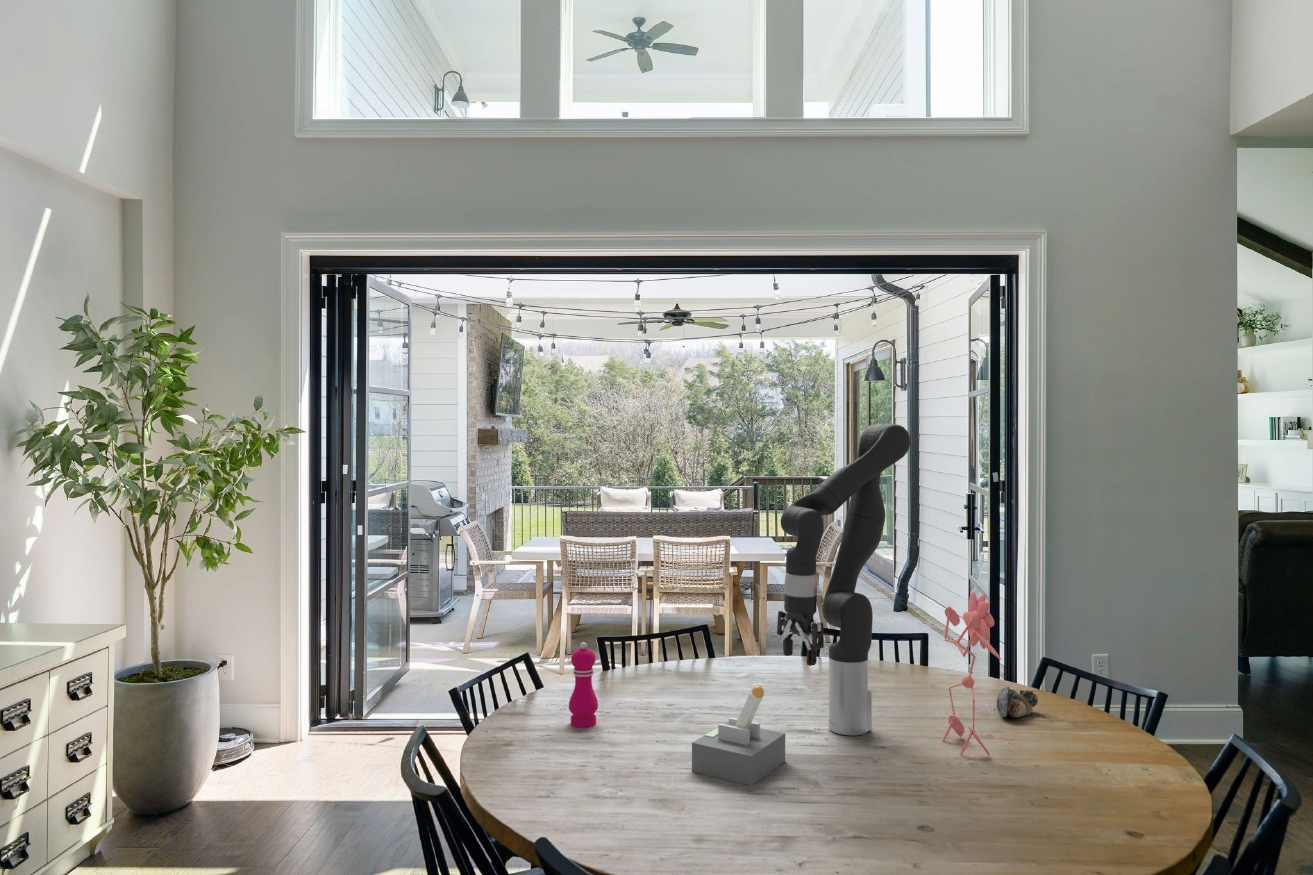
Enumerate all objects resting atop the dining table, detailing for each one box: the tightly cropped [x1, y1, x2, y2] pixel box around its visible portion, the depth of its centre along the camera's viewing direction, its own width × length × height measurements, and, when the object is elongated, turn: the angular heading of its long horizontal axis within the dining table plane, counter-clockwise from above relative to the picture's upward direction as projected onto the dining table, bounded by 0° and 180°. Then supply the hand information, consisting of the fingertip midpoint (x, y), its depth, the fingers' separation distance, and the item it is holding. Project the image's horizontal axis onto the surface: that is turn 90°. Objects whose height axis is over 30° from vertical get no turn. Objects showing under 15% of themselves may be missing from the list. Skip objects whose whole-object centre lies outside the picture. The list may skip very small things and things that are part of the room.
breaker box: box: [691, 717, 786, 787], centre depth 182 cm, size 16×14×9 cm
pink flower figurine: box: [941, 591, 1015, 765], centre depth 194 cm, size 15×26×35 cm, turn 5°
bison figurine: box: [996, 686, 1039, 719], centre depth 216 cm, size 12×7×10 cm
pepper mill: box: [568, 641, 599, 729], centre depth 210 cm, size 7×7×20 cm
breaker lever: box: [735, 685, 765, 729], centre depth 181 cm, size 3×3×13 cm
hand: (799, 659), depth 201 cm, fingers open, 8 cm apart
